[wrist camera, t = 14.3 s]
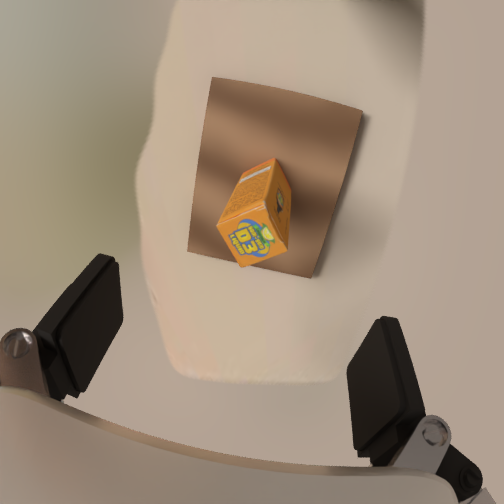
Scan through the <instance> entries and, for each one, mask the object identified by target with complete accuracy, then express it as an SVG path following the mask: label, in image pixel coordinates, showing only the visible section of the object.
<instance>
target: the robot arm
mask: <svg viewBox="0 0 504 504" xmlns="http://www.w3.org/2000/svg"><path fill="white" fill-rule="evenodd" d="M122 322H123V309H122V298H121V287H120V275H119V264H118V263H117V262H115V258H114V257H111V256H108V255H104V254H98V255H97V256H96V257H95V258H94V259H93V260H92V261H91V262H90V263H89V265H88V266H87V267H86V268H85V269H84V270H83V272H82V273H81V274H80V275H79V276H78V277H77V278H76V279H75V281H74V282H73V283H72V284H70V285H69V286H68V287H67V289H66V290H65V291H64V292H63V294H62V295H61V296H60V297H59V298H58V300H57V301H56V302H55V303H54V304H53V306H52V307H51V308H50V309H49V311H48V312H47V313H46V314H45V316H44V317H43V318H42V320H41V321H40V322H39V324H38V325H37V326H36V328H35V329H34V330H33V331H32V332H31V331H30V330H28V329H25V328H16V329H13V330H10V331H9V332H7V333H6V334H5V335H4V336H3V337H2V339H1V341H0V504H496V503H495V501H494V500H493V498H492V497H491V495H490V494H489V492H488V491H487V489H486V488H483V489H482V488H481V486H482V481H483V478H482V473H481V471H480V469H479V468H478V467H477V466H476V465H475V464H474V463H473V462H472V461H470V460H469V459H468V458H467V457H465V456H464V455H463V454H462V453H461V452H459V451H458V450H457V449H456V448H455V447H453V446H452V445H451V444H450V441H451V431H450V428H449V426H448V424H447V423H446V422H445V421H444V420H443V419H442V418H440V417H438V416H435V415H428V416H426V414H425V407H424V403H423V400H422V396H421V392H420V388H419V385H418V381H417V378H416V375H415V371H414V367H413V364H412V361H411V358H410V354H409V351H408V348H407V345H406V342H405V339H404V335H403V332H402V329H401V327H400V324H399V321H398V319H397V318H393V317H387V316H382V317H381V318H380V319H376V320H375V322H374V323H373V325H372V327H371V329H370V330H369V332H368V334H367V335H366V337H365V339H364V340H363V342H362V344H361V346H360V347H359V349H358V350H357V352H356V354H355V355H354V357H353V359H352V360H351V361H350V363H349V365H348V367H347V381H348V391H349V400H350V409H351V410H350V411H351V421H352V432H353V446H354V449H355V450H357V453H358V457H370V462H371V464H370V465H369V467H344V466H342V467H341V466H318V465H304V464H293V463H283V462H274V461H266V460H259V459H252V458H246V457H240V456H234V455H229V454H223V453H218V452H213V451H209V450H204V449H200V448H195V447H191V446H187V445H183V444H179V443H175V442H172V441H168V440H164V439H161V438H157V437H154V436H151V435H147V434H144V433H141V432H138V431H134V430H131V429H129V428H126V427H123V426H120V425H117V424H115V423H112V422H109V421H106V420H104V419H101V418H98V417H96V416H93V415H90V414H88V413H85V412H83V411H81V410H78V409H76V408H74V407H71V406H69V405H67V404H64V401H63V399H64V398H65V396H66V395H67V394H68V395H71V396H73V397H75V398H78V396H79V394H80V392H85V391H86V389H87V387H88V385H89V383H90V381H91V380H92V378H93V376H94V374H95V372H96V370H97V368H98V366H99V365H100V362H101V361H102V359H103V357H104V355H105V353H106V351H107V350H108V348H109V346H110V344H111V343H112V341H113V339H114V337H115V335H116V334H117V332H118V330H119V329H120V327H121V325H122Z"/></svg>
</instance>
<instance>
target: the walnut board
mask: <svg viewBox="0 0 504 504" xmlns="http://www.w3.org/2000/svg"><path fill="white" fill-rule="evenodd" d="M362 112H363V111H362V110H359V109H355V108H352V107H349V106H346V105H342V104H339V103H335V102H332V101H328V100H325V99H321V98H317V97H313V96H309V95H305V94H301V93H297V92H293V91H288V90H284V89H279V88H274V87H269V86H264V85H259V84H254V83H248V82H242V81H236V80H230V79H223V78H216V77H212V81H211V86H210V91H209V97H208V103H207V108H206V114H205V120H204V126H203V133H202V139H201V146H200V152H199V159H198V166H197V173H196V181H195V188H194V196H193V204H192V213H191V221H190V230H189V240H188V250H187V251H188V252H192V253H196V254H201V255H205V256H210V257H214V258H219V259H223V260H228V261H232V262H237V260H236V259H235V257H234V256H233V254H232V252H231V250H230V249H229V247H228V245H227V244H226V242H225V240H224V239H223V237H222V235H221V234H220V232H219V230H218V228H217V226H216V225H217V223H218V221H219V219H220V217H221V215H222V213H223V211H224V209H225V207H226V205H227V203H228V201H229V199H230V197H231V195H232V193H233V191H234V189H235V187H236V185H237V183H238V181H239V180H240V178H241V176H242V174H243V173H244V172H246V171H248V170H250V169H252V168H254V167H256V166H258V165H260V164H262V163H264V162H266V161H268V160H270V159H272V158H276V159H277V161H278V163H279V165H280V167H281V169H282V171H283V173H284V175H285V177H286V179H287V181H288V183H289V186H290V188H291V210H290V224H289V239H288V251H287V252H285V253H282V254H280V255H277V256H274V257H271V258H269V259H266V260H263V261H260V262H258V263H255V264H252V265H250V266H255V267H260V268H264V269H269V270H273V271H278V272H283V273H287V274H292V275H297V276H301V277H306V278H311V277H312V274H313V271H314V269H315V266H316V263H317V260H318V257H319V254H320V251H321V248H322V245H323V242H324V239H325V236H326V233H327V230H328V227H329V224H330V221H331V218H332V215H333V212H334V209H335V206H336V202H337V199H338V196H339V193H340V190H341V186H342V183H343V180H344V176H345V173H346V170H347V166H348V163H349V159H350V156H351V152H352V149H353V145H354V142H355V138H356V134H357V131H358V127H359V123H360V120H361V116H362ZM237 263H238V262H237Z"/></svg>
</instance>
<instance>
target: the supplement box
mask: <svg viewBox="0 0 504 504" xmlns="http://www.w3.org/2000/svg"><path fill="white" fill-rule="evenodd" d="M290 210H291V188H290V186H289V183H288V181H287V179H286V177H285V175H284V173H283V171H282V169H281V167H280V165H279V163H278V161H277V159H276V158H272V159H270V160H268V161H266V162H264V163H262V164H260V165H258V166H256V167H254V168H252V169H250V170H248V171H246V172H244V173H243V174H242V176H241V178H240V180H239V181H238V183H237V185H236V187H235V189H234V191H233V193H232V195H231V197H230V199H229V201H228V203H227V205H226V207H225V209H224V211H223V213H222V215H221V217H220V219H219V221H218V223H217V225H216V226H217V228H218V230H219V232H220V234H221V235H222V237H223V239H224V240H225V242H226V244H227V245H228V247H229V249H230V250H231V252H232V254H233V256H234V257H235V259H236V260H237V262H238V264H239V266H240V267H245V266H249V265H252V264H255V263H258V262H260V261H263V260H266V259H269V258H271V257H274V256H277V255H280V254H282V253H285V252H287V251H288V239H289V224H290Z"/></svg>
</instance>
